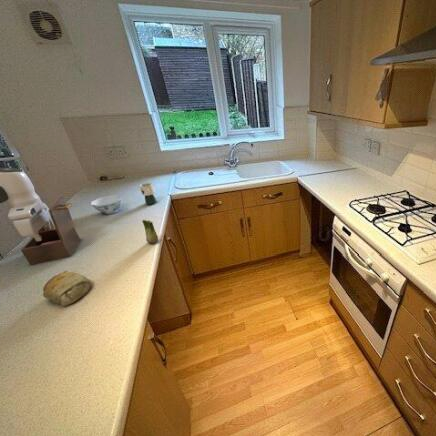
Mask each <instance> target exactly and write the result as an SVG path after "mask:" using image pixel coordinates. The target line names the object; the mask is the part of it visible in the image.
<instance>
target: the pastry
mask: <svg viewBox="0 0 436 436" xmlns="http://www.w3.org/2000/svg"><path fill="white" fill-rule="evenodd" d="M90 285H91V280H90V279H89V278H88V277H86V276H85V275H82V274H80V273H79V272H76V271H70V270H69V271H68V270H64V271H63V272H61V273H59V274H57V275H54V276H53V277H52V278H50V279H48V281H47V282H46V283H45V284H44V286H43V287H42V291H43V292H42V297H44V298H46V299H48V300H49V301H51V302H52V303H54V304H58V305H61V306H62V307H68V306H69V305H72V304H74V303H75V302H76V301H78V300H79V299H81V298H83V296H84V295H86V294H87V293H88V292H89V291H90V289H91V287H90Z"/></svg>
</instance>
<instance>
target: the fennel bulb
mask: <svg viewBox="0 0 436 436" xmlns="http://www.w3.org/2000/svg"><path fill="white" fill-rule="evenodd" d="M141 222H142V224H143V227H144V230H145V238H146V239H145V240H146V242H147V243H148V244H151V245H152V244H153V245H154V244H157V243H158V241H159V237H158V234H157V232H156V230H155V226H154V222H153V221H150V219H149V220H147V219H142V220H141Z"/></svg>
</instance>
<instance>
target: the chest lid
mask: <svg viewBox="0 0 436 436" xmlns="http://www.w3.org/2000/svg"><path fill="white" fill-rule="evenodd" d="M72 206H73V205H72V203H71V202H67V201H66V199H65V196H61V197H60V198H59V199H58V200H57V201H56V202H55V203H54V204H53V205H52V206H51V207H50V208H49V210H48V211H49V213H50V216H51V218H50V219H51V222H52V224H53V226H54V228H55V229H56V231H57V233H58V235H59V238H60V240H61V241H63V240H64V239H65V237H66V236H67V235H68V233H69V232H70V230H71V229H72V227H73V226H74V227H75V223H74V220H73V218H72V215H71V213H70V210H69V209H70V208H71V207H72Z"/></svg>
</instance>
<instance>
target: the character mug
mask: <svg viewBox="0 0 436 436" xmlns="http://www.w3.org/2000/svg"><path fill="white" fill-rule="evenodd" d="M139 189H140V193H141V195H142V196H144V200H145V204H146V205H153V204H155V203H157V199H156V197H155V195H154V194H155V189H154V186H153V183H152V182H145V183H141V184H139Z"/></svg>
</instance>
